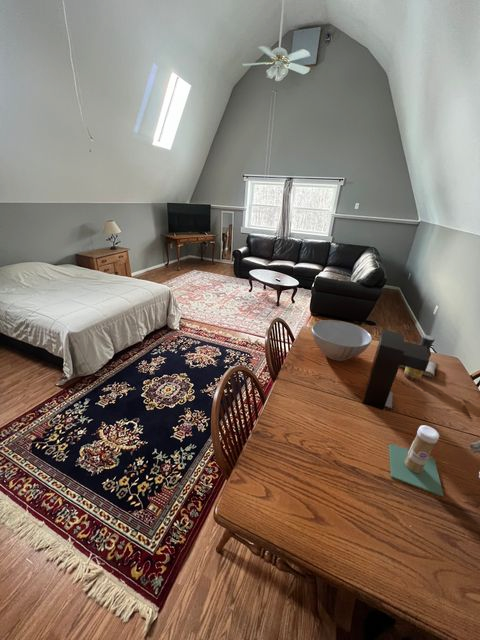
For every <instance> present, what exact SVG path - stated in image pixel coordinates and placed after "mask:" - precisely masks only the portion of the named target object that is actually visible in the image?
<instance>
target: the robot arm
mask: <svg viewBox="0 0 480 640" xmlns="http://www.w3.org/2000/svg"><path fill="white" fill-rule="evenodd" d="M469 447H470V450H471V451H472V452H473V453H475V454H477V453H480V439H479V440H478V441H476V442H471V443H469ZM477 474H478V478H479V479H480V471H478V472H477Z"/></svg>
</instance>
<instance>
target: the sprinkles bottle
mask: <svg viewBox="0 0 480 640" xmlns="http://www.w3.org/2000/svg"><path fill="white" fill-rule="evenodd" d="M416 431H417V432H416V435H415V438H414V439H413V441H412V443H411V446H410V448H409V449H408V450H409V452H408V456H407V458H406V459H405V465H406V466H407V468H408V469H410V470H411V471H413V472H416V473H420V472H422V471H423V467H424V465H425V464H426V462H427V460H428V458H429V457H431V453H432V451H433V449H434V447H435V445H436V443H437V442H438V441H439V439H440V433H439V432H438V431H437V430H436V429H435V428H433V427H431V426H429V425H423V424H422V425H420V426H419V427H418V429H417V430H416Z"/></svg>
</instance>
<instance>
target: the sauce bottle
mask: <svg viewBox="0 0 480 640" xmlns="http://www.w3.org/2000/svg"><path fill="white" fill-rule="evenodd" d="M435 340H436V339H435V338H434V337H433V336H431V335H429V334H428V335H427V334H424V335H423V336H422V337H421V340H420V343H419V345H422V346H426V347H427V352H428V357H429V359H430V358H431V356H432V352H431V348H432V345H433V344H434V342H435ZM422 374H423V371H421V370H417V369H413V368H410V367H406V368H404V372H403V375H404V377H405V378H406V379H408V380H410V381H413V382H416V381H419V380H421V378H422V376H423V375H422Z"/></svg>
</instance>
